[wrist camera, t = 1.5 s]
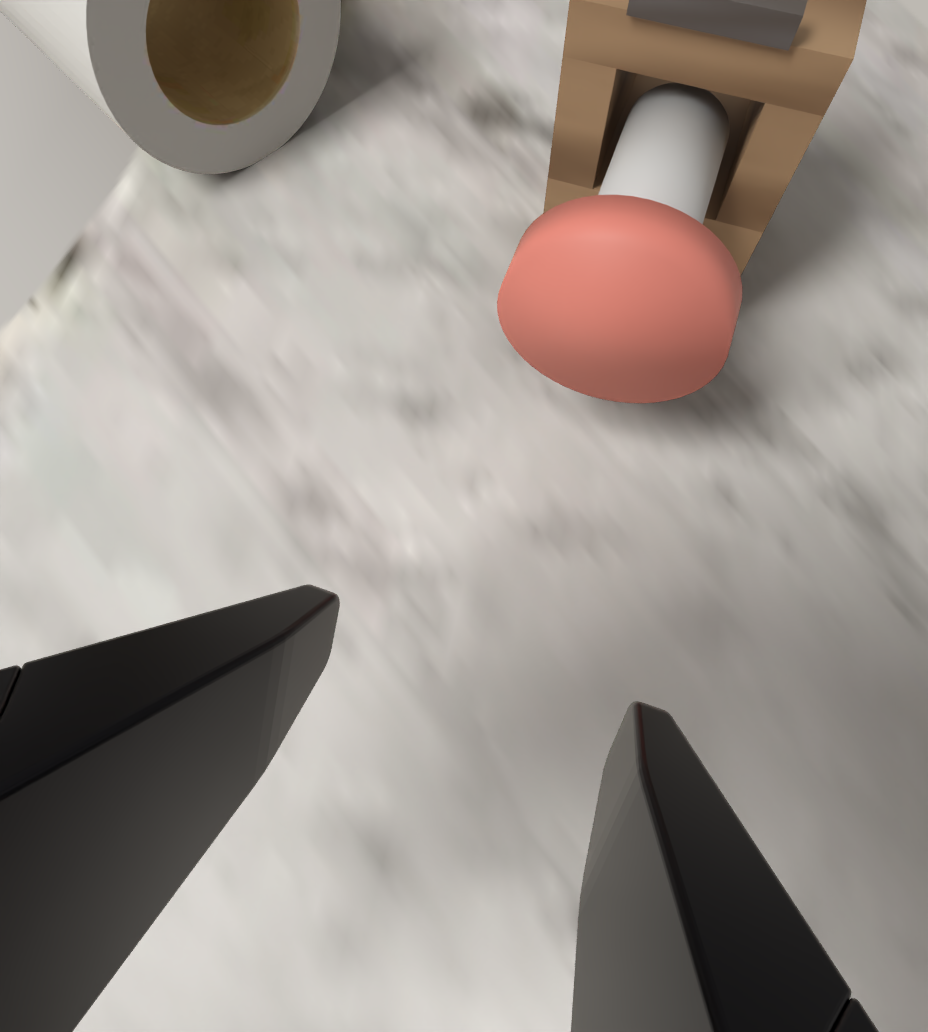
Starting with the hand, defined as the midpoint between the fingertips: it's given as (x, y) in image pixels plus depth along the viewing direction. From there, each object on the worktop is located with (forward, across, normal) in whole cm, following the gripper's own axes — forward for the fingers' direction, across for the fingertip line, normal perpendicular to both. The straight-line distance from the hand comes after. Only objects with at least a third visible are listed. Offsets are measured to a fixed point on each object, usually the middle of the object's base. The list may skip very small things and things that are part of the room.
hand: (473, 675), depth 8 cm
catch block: (+23, 0, -5) cm, 24 cm away
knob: (+17, 0, -3) cm, 17 cm away
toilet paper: (+25, +20, -6) cm, 33 cm away
